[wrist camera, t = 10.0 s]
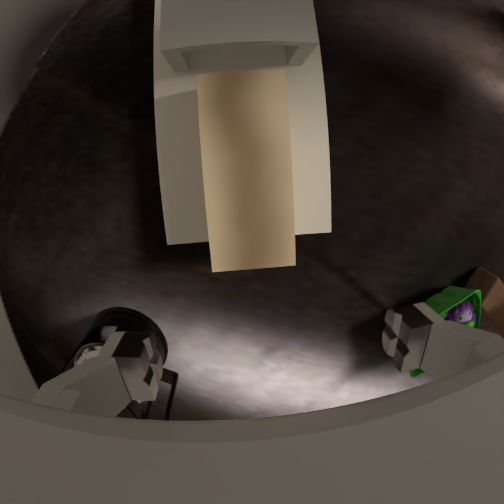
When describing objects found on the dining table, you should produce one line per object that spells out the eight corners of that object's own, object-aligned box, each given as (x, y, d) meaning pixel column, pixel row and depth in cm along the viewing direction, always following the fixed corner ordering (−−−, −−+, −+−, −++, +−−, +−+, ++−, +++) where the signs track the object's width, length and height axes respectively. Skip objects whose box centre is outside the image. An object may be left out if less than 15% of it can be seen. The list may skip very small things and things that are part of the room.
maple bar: (276, 83, 21) (285, 69, 17) (286, 249, 25) (295, 265, 22) (202, 88, 21) (196, 74, 17) (215, 255, 25) (212, 272, 21)
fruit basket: (457, 271, 31) (516, 309, 20) (459, 324, 34) (506, 366, 23) (385, 311, 32) (436, 368, 21) (394, 362, 34) (434, 419, 23)
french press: (84, 354, 31) (3, 501, 9) (92, 291, 29) (-34, 451, 7) (171, 388, 33) (140, 560, 11) (192, 330, 31) (157, 544, 9)
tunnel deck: (293, -51, 19) (309, -94, 11) (321, 224, 28) (354, 250, 20) (165, -44, 18) (150, -87, 10) (173, 236, 27) (151, 266, 19)
